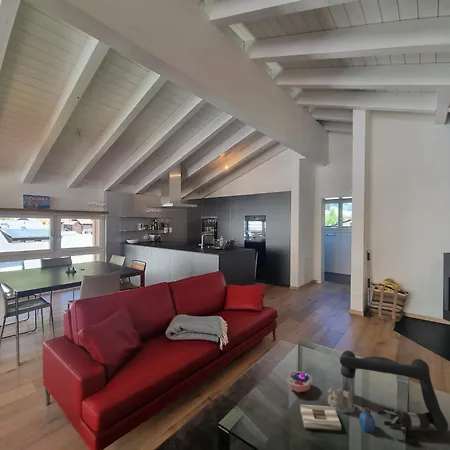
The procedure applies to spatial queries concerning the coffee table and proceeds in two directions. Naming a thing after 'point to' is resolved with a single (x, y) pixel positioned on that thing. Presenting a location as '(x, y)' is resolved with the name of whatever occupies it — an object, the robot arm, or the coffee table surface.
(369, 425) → the perfume bottle
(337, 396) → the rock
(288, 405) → the coffee table surface
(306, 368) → the coffee table surface
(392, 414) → the robot arm
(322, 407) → the socket plinth
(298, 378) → the cell model
